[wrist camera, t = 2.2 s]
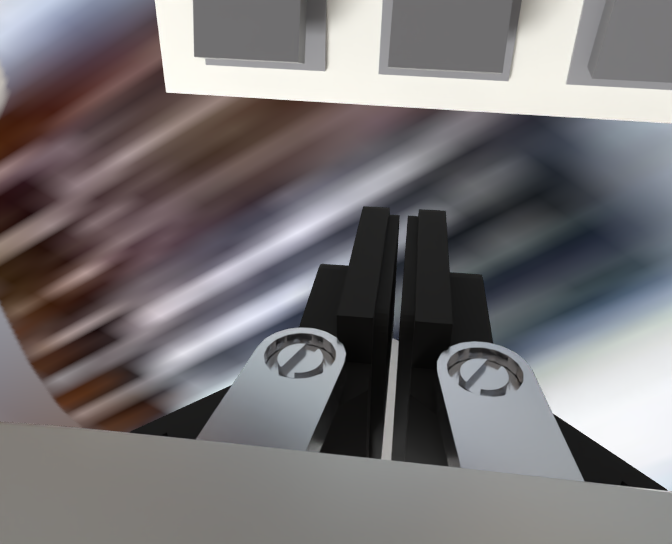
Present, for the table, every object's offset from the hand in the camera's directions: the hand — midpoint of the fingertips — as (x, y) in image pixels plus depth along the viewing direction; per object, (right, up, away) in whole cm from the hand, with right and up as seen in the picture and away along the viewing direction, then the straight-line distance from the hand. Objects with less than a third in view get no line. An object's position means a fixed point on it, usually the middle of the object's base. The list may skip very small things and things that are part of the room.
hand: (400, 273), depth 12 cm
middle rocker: (+3, +11, +10) cm, 15 cm away
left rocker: (-5, +12, +11) cm, 17 cm away
